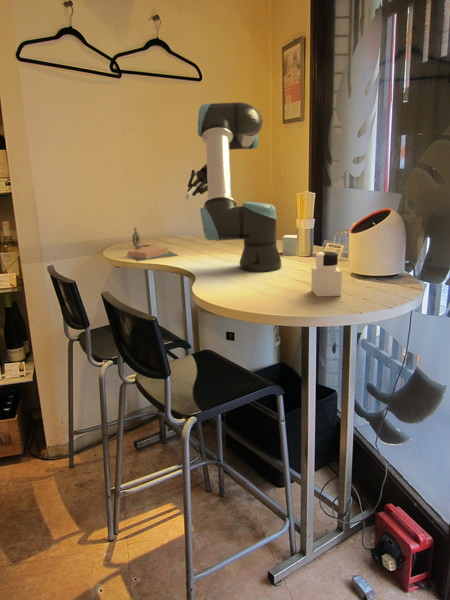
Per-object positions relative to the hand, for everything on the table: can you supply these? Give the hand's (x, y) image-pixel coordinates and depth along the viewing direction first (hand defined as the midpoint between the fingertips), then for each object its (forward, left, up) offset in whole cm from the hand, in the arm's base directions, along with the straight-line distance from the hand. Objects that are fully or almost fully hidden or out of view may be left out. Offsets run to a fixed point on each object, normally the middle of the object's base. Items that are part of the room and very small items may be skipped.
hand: (187, 196), depth 201 cm
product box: (-32, -32, -24) cm, 51 cm away
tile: (+2, +13, -22) cm, 26 cm away
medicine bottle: (-87, -8, -24) cm, 90 cm away
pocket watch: (+19, +17, -24) cm, 35 cm away
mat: (-1, +18, -23) cm, 30 cm away
